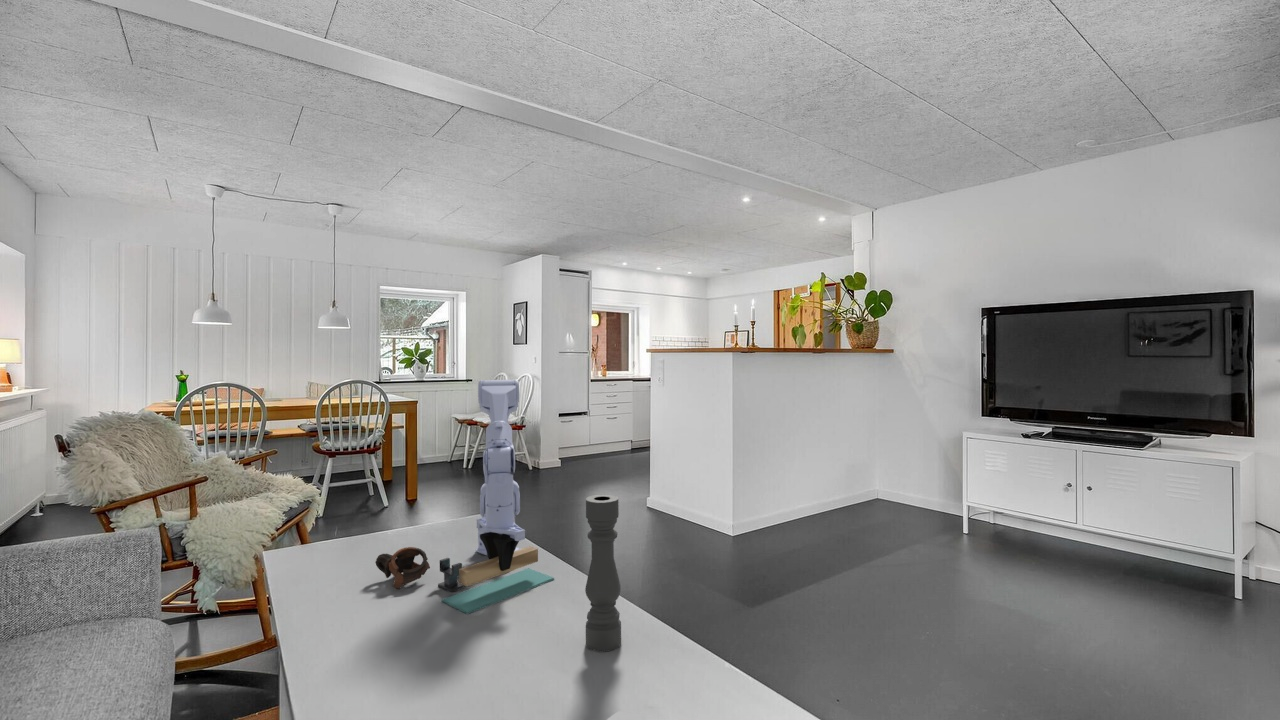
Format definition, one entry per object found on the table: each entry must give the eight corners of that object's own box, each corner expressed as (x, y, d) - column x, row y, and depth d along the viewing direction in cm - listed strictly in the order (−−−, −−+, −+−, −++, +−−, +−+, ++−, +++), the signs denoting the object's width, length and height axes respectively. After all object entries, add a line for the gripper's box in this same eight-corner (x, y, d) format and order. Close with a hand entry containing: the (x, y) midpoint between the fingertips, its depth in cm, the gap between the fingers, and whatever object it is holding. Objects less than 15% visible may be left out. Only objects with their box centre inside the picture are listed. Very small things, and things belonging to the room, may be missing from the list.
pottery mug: (433, 572, 133) (437, 547, 130) (417, 606, 125) (420, 580, 121) (382, 561, 133) (384, 535, 129) (362, 594, 124) (364, 567, 120)
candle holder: (616, 653, 95) (615, 503, 95) (581, 649, 97) (579, 502, 96) (625, 635, 101) (623, 494, 101) (591, 632, 103) (590, 493, 103)
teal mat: (442, 601, 116) (442, 599, 116) (528, 569, 133) (528, 568, 133) (467, 613, 110) (467, 611, 110) (554, 579, 127) (554, 577, 127)
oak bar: (459, 583, 116) (459, 569, 116) (530, 558, 129) (529, 546, 129) (467, 586, 114) (466, 572, 114) (538, 561, 128) (537, 548, 128)
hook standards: (437, 586, 124) (437, 560, 124) (495, 566, 135) (495, 543, 135) (451, 592, 120) (451, 566, 120) (510, 571, 132) (510, 548, 132)
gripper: (464, 502, 123) (464, 564, 123) (504, 513, 114) (505, 581, 114) (491, 495, 129) (492, 556, 129) (532, 506, 119) (533, 571, 119)
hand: (500, 567), depth 122 cm, fingers closed on oak bar, 3 cm apart
